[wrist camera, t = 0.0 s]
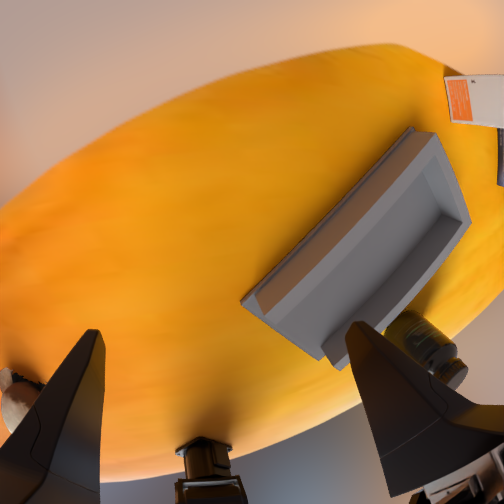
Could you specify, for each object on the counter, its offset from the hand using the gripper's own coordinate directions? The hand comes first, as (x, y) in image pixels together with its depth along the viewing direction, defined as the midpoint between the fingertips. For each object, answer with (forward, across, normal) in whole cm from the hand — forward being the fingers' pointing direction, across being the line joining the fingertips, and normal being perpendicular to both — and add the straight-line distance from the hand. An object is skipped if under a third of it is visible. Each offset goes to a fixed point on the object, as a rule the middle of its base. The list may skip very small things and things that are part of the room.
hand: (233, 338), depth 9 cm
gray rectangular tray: (+14, -17, +6) cm, 23 cm away
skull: (+9, +24, +28) cm, 38 cm away
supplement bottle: (+12, -27, +17) cm, 34 cm away
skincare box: (+20, -28, -13) cm, 37 cm away
